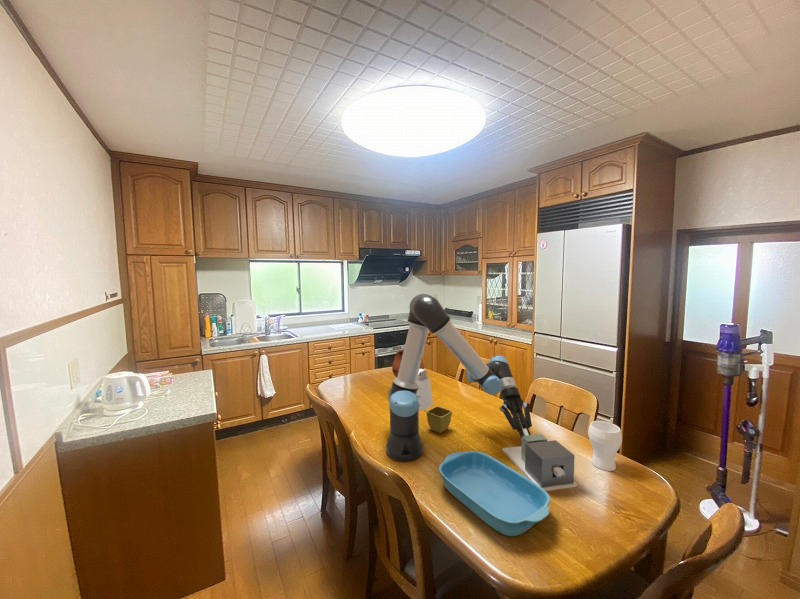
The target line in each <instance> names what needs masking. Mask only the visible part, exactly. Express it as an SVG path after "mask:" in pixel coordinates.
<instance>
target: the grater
mask: <svg viewBox="0 0 800 599" xmlns="http://www.w3.org/2000/svg"><path fill="white" fill-rule="evenodd" d="M420 372H421V376H420V375H419V374H420ZM416 383H417V384H418V390H417V394H416V395H417V397H418V401H419V410H420V411H419V412H422V411H424V410H425V411H426V409H427V410H429V409H430V408H431V407H430V406H432V405H433V406H434V401H433V393H432V387H431V386H432V385H431V379H430V377H427V370H426V369H425V368H424V369H419V372H418V376H417V380H416ZM433 406H432V407H433ZM429 407H430V408H429ZM425 411H424V412H425Z"/></svg>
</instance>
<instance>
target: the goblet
mask: <svg viewBox="0 0 800 599" xmlns="http://www.w3.org/2000/svg"><path fill="white" fill-rule="evenodd" d="M403 352H404V349H402V350H398V351H396V352H395V357H394V358H393V363H392V367H391V369H392V374H393V375H394V377H395V378H396V377H398V372H399V368H400V364H401V360H402V356H403ZM419 369H424V370H425V365H424V362H423V358H422V359H421V363H420V367H419ZM419 375H420V376H421V372H420V374H419Z"/></svg>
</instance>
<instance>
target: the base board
mask: <svg viewBox="0 0 800 599" xmlns="http://www.w3.org/2000/svg"><path fill="white" fill-rule="evenodd" d="M521 448H522V445H520V446H519V445H518V446H512V447H503V448H502V451H503V452H502V453H504V454H505V455H506V456H507V457H508V458H509V459H510V461H511V462H512V463H513V464H514V465H515V467H517V468H518V470H520V472H521V474H522V475H523V476H524V477H526V478H528V479H529V480H531V481H533V482H534V483H536V484H537V482H536V481H535V480H534V479H533V478H532V477H531V476H530V475H529V474H528V473H527V472H526V470H525V462H524V461H523V460H522V459H521ZM537 485H538V484H537ZM538 486H539V485H538ZM577 487H578V483H577V482H576V481H574V483H573V484H566V485H558V486H551V487H544V488H543V489H544V490H545V491H546V492H549V491H556V490H563V489H565V490H566V489H572V488H577Z"/></svg>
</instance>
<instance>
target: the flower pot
mask: <svg viewBox="0 0 800 599" xmlns="http://www.w3.org/2000/svg"><path fill="white" fill-rule="evenodd" d="M452 414H453V411H452V410H450V409H447V408H445V407H442V406H438V405H437V406H434V407H432V408H429V409H427V411H426V419H427V424H428V426H429V428H430V429H431V430H432V431H434V432H436V433H439V434H441V433H443V432H445V431H447V429H448V428H449V427H450V425H451V421H452V416H453V415H452Z"/></svg>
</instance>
